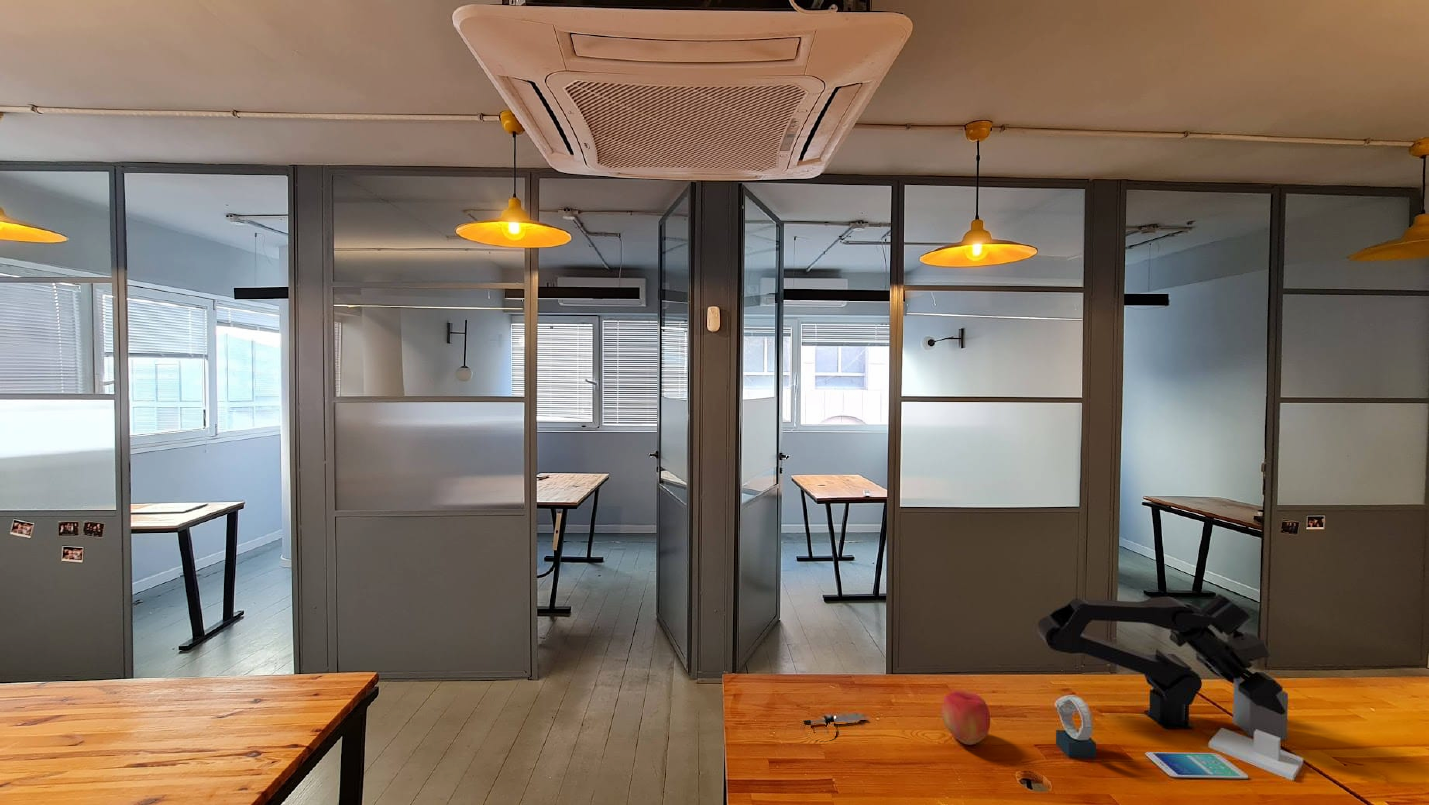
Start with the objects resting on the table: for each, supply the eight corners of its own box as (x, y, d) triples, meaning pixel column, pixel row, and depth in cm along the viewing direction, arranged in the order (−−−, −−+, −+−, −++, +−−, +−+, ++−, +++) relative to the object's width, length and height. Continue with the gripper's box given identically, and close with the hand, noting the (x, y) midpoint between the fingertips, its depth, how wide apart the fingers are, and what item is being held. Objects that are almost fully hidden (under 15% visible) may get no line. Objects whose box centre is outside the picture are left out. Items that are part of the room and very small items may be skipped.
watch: (1076, 739, 121) (1076, 688, 121) (1101, 763, 113) (1102, 709, 113) (1050, 738, 121) (1050, 688, 121) (1073, 763, 113) (1074, 709, 113)
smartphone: (1251, 777, 108) (1171, 776, 109) (1251, 782, 108) (1171, 780, 109) (1217, 753, 116) (1143, 751, 116) (1217, 757, 116) (1143, 755, 116)
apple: (996, 757, 115) (996, 709, 115) (946, 751, 117) (947, 703, 117) (983, 729, 124) (984, 684, 124) (937, 724, 126) (938, 680, 126)
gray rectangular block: (1249, 735, 122) (1250, 689, 122) (1232, 722, 127) (1233, 677, 127) (1286, 739, 121) (1288, 692, 120) (1268, 725, 126) (1269, 680, 125)
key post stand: (1208, 747, 118) (1209, 723, 118) (1221, 732, 123) (1222, 709, 123) (1292, 781, 108) (1293, 755, 108) (1303, 763, 113) (1303, 738, 113)
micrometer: (810, 745, 120) (810, 733, 120) (800, 725, 127) (800, 714, 127) (876, 738, 122) (877, 727, 122) (863, 719, 129) (863, 708, 129)
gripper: (1272, 642, 115) (1336, 701, 113) (1212, 607, 133) (1266, 658, 131) (1226, 676, 117) (1288, 735, 115) (1173, 637, 135) (1226, 688, 133)
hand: (1266, 701), depth 123 cm, fingers open, 9 cm apart
